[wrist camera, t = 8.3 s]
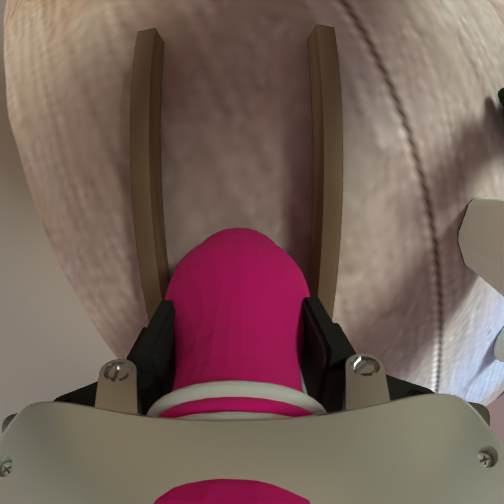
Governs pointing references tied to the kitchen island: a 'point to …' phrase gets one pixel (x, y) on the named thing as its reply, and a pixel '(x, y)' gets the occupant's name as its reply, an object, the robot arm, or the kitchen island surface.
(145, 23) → the kitchen island surface
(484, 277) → the cup
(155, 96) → the guide channel
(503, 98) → the toy figurine
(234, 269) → the pepper mill
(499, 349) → the garlic bulb
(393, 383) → the robot arm
